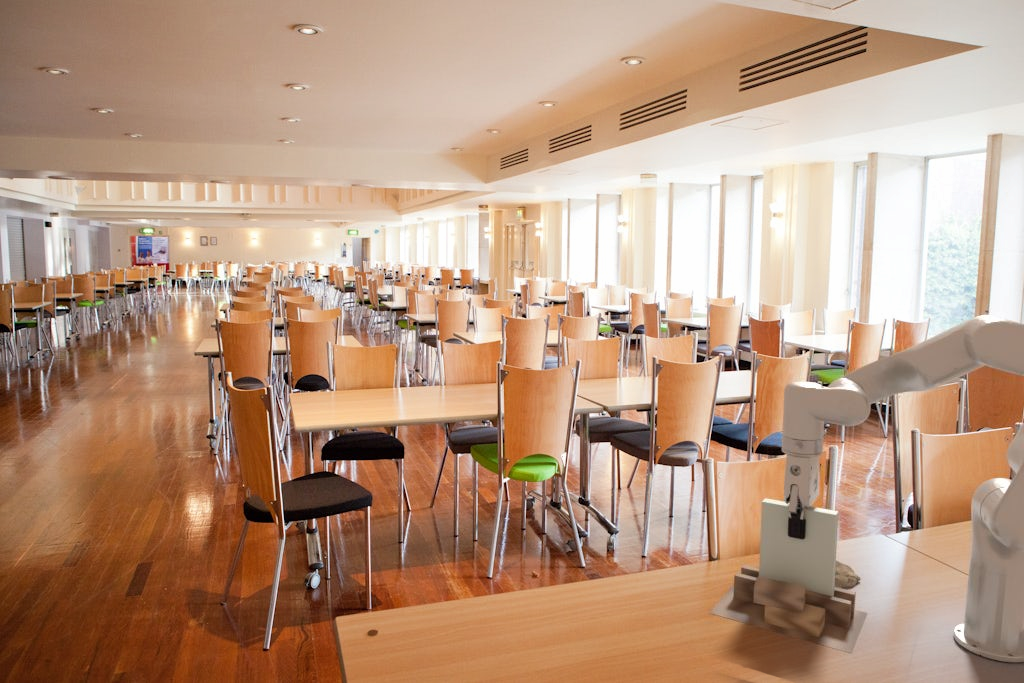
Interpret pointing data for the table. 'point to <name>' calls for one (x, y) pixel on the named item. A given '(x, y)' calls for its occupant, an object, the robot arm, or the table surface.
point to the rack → (839, 609)
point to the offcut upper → (779, 594)
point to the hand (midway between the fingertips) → (798, 534)
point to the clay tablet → (845, 576)
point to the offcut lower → (797, 619)
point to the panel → (799, 547)
